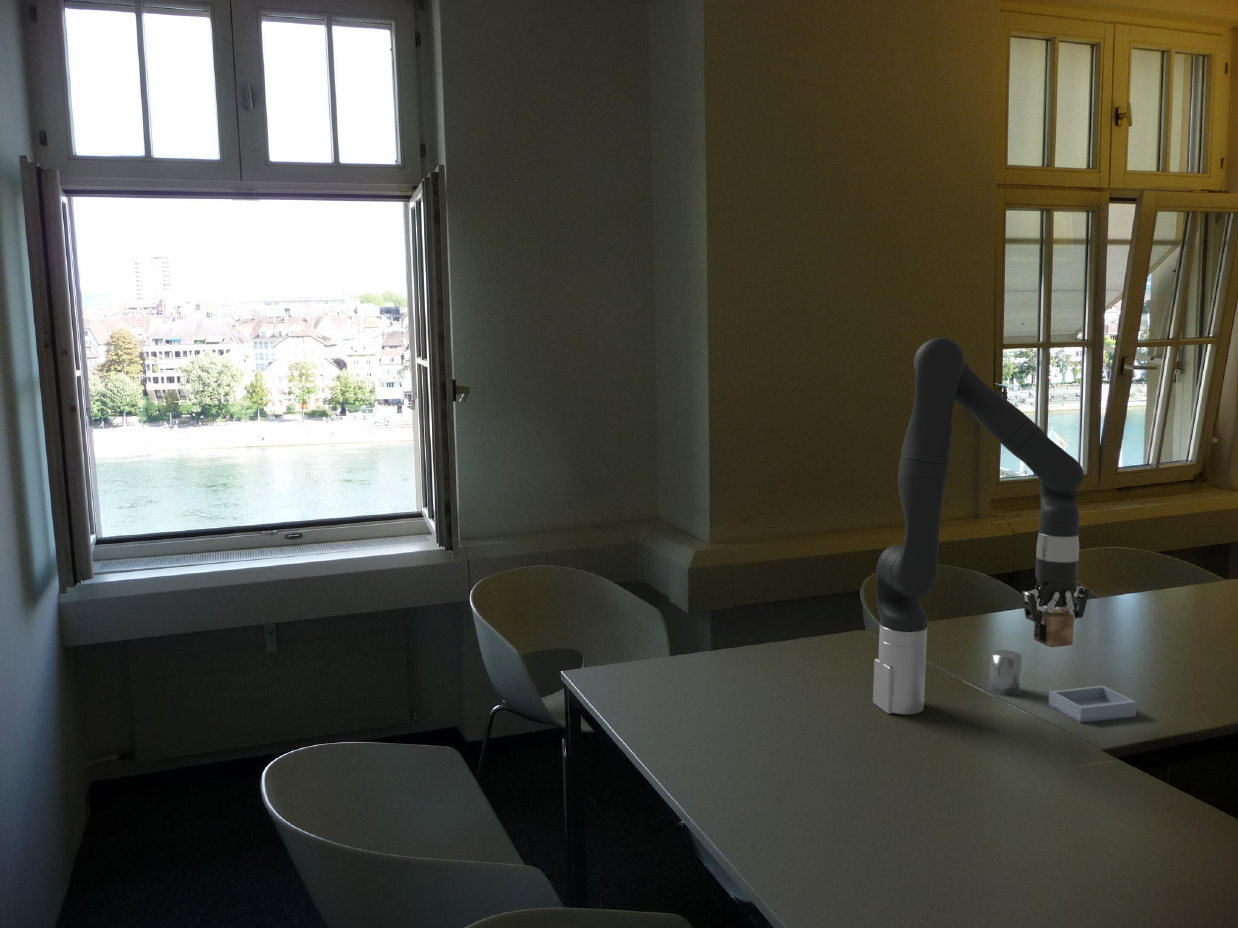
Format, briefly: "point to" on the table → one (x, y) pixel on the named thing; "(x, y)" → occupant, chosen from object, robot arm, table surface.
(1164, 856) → the table surface
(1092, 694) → the slate tray
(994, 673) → the grey can
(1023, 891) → the table surface
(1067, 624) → the walnut block
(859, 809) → the table surface
